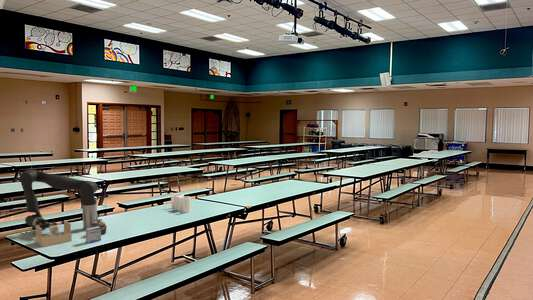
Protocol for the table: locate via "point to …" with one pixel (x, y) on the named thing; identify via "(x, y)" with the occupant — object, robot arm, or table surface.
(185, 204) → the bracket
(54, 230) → the box
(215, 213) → the table surface
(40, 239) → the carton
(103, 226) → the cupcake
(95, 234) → the medicine box
